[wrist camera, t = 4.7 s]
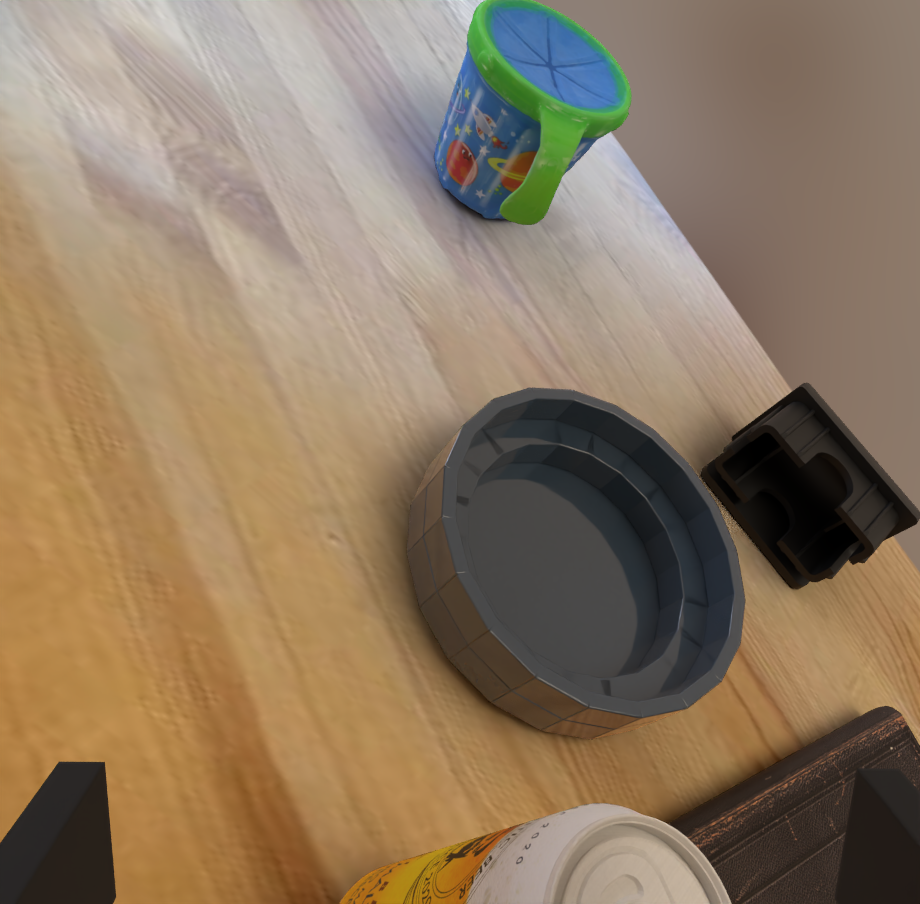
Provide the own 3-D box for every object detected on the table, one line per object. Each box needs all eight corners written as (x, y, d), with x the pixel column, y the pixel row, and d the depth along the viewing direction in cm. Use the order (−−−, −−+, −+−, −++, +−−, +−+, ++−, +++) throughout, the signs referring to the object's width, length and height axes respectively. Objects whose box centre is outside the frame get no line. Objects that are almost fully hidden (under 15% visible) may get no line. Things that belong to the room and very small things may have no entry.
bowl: (450, 772, 34) (501, 747, 30) (371, 430, 41) (406, 380, 37) (729, 710, 42) (794, 686, 38) (624, 435, 49) (671, 394, 45)
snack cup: (418, 84, 58) (483, -54, 50) (546, 144, 61) (625, 24, 54) (396, 230, 49) (471, 90, 41) (548, 291, 53) (643, 173, 45)
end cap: (845, 547, 53) (937, 500, 48) (799, 600, 48) (895, 554, 43) (745, 426, 55) (822, 368, 50) (691, 466, 50) (771, 407, 45)
